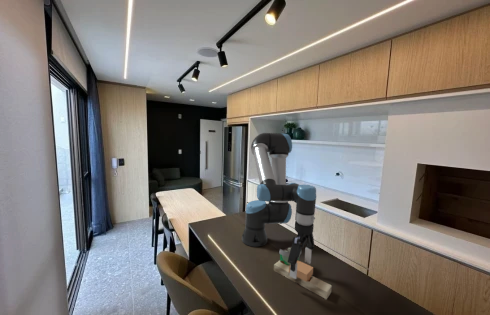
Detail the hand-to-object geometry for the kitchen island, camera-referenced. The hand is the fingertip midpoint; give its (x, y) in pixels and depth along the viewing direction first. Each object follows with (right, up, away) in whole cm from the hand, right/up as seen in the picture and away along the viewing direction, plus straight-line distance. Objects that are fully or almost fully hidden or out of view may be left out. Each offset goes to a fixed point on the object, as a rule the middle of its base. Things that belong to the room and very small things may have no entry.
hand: (300, 269), depth 87 cm
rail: (0, -5, 0) cm, 5 cm away
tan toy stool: (0, -5, 0) cm, 5 cm away
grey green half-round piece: (-2, -5, +9) cm, 10 cm away
